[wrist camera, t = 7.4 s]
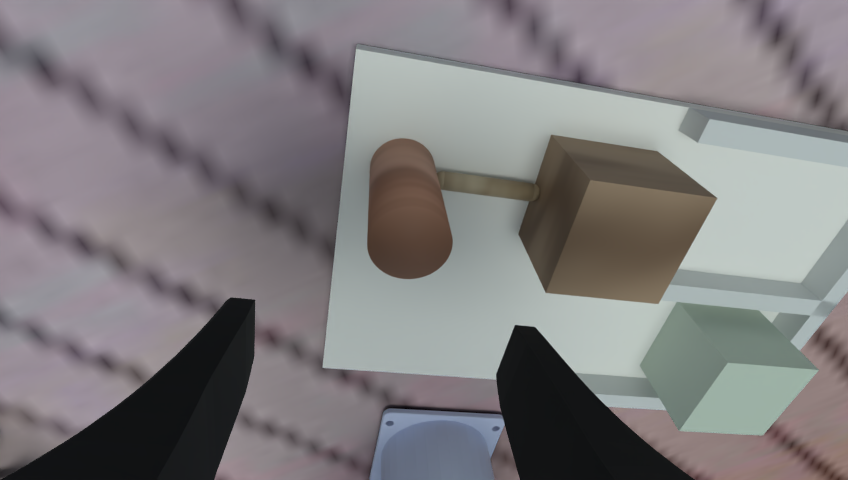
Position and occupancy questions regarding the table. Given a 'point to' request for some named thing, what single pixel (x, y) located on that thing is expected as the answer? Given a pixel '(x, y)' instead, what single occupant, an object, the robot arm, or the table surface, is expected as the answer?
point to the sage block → (724, 369)
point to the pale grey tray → (501, 218)
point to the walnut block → (548, 216)
